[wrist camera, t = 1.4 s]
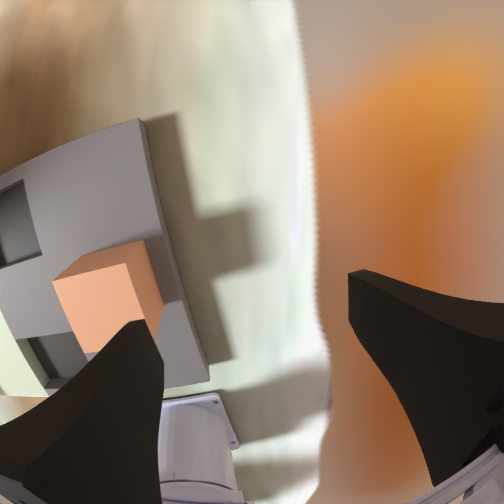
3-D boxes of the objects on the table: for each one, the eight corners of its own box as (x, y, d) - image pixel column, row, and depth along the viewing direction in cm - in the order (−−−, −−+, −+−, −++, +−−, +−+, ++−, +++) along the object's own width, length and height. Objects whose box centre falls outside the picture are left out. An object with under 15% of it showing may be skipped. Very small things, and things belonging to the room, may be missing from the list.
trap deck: (208, 365, 22) (211, 396, 19) (-1, 384, 20) (-14, 404, 16) (144, 122, 16) (130, 112, 13) (-68, 225, 14) (-90, 234, 10)
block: (163, 304, 18) (154, 342, 14) (104, 316, 18) (84, 353, 13) (143, 239, 17) (125, 263, 12) (82, 255, 16) (51, 281, 12)
